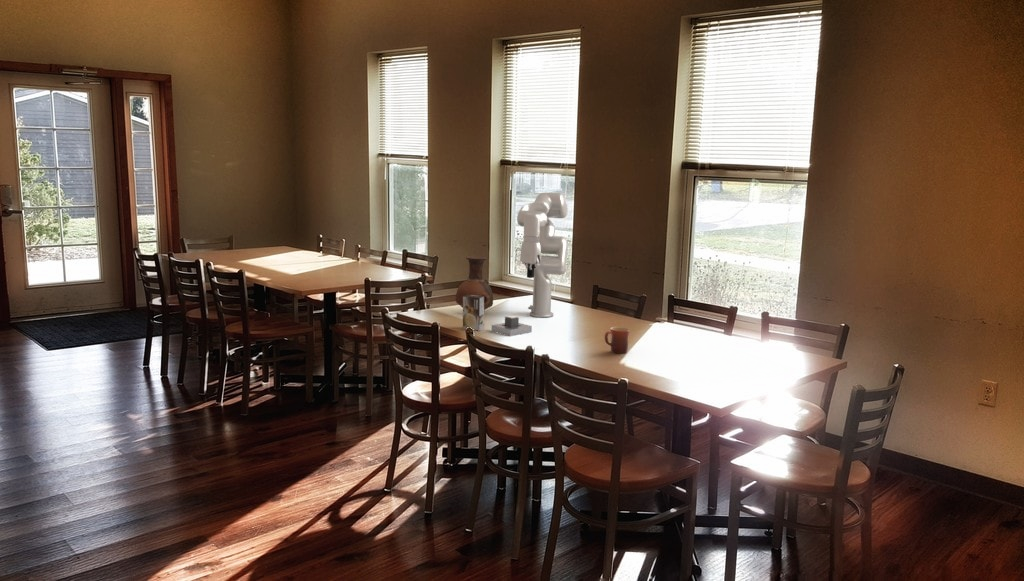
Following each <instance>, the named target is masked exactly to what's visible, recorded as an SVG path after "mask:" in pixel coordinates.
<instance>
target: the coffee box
mask: <svg viewBox="0 0 1024 581" xmlns="http://www.w3.org/2000/svg"><path fill="white" fill-rule="evenodd" d="M484 304H485V296H478V295H465V296H463V308H462V330H467V329H466V328H467V327H471V328H472V329H474V330H473V331H476V330H478V331H477V332H480V331H483V330H484V329H485V310H484Z"/></svg>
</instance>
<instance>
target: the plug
mask: <svg viewBox="0 0 1024 581" xmlns="http://www.w3.org/2000/svg"><path fill="white" fill-rule="evenodd" d="M519 319H520V318H519V317H518V316H516V315H507V316H505V317H504V323H505V326H506V327H510V328H513V327H518V324H519V323H520V322H519Z"/></svg>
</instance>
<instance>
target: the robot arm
mask: <svg viewBox="0 0 1024 581" xmlns="http://www.w3.org/2000/svg"><path fill="white" fill-rule="evenodd" d="M568 212H569V209H568V205H567V201H566V198H565V196H564V195H563V194H562V193H559V192H540V193H539V194H538V195H537V196H536V198H535V200H534V201H533V202H531V203H528V204H525V205H523V206H521V208H520V209H519V210H518V213H517V215H516V216H517V218H516V221H517V224H518V226H521V227H523V236H522V238H523V241H522V242H521V245H520V246H521V247H520V255H519V256H520V257H519V259H520V262H522V263H521V264H523V265H525V268H526V278H527V279H533V282H532V284H533V285H532V286H533V289H532V304H530V305H529V306H528V307H527V310H531V311H530V312H529V316H530V317H533V318H534V317H535V318H552V317H554V312H552V311H551V310H552V309H551V307H552V280H551V278H550V277H549V275H556V276H560V275H561V276H562V275H564V274H565V272H566V270H567V258H568V247H569V245H568V240H567V238H566V237H564V236H559V235H558V236H557V235H556V234H555V231H556V228H555V225H554V223H553V222H552V220H551V219H565V218H566V217H567V215H568ZM543 254H544V255H543ZM555 255H556V256H555Z"/></svg>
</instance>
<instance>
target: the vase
mask: <svg viewBox="0 0 1024 581" xmlns="http://www.w3.org/2000/svg"><path fill="white" fill-rule="evenodd" d="M465 259H467V260H468V264H469V267H468V268H469V274H468V278H467V279H466V280H464V281H462V283H461V284H460V285H459V286H458V288H457V289H456V294H455V303H456V304H458V306H460V307H461V308H462V309H463V296H465V295H478V296H485V304H484V311H486V310H488V309H490V308H491V307H492V306H493V304H494V294H493V292H492V291H493V290H492V288H491V286H490V283H489V281H488V280H487V279H484V278H483V266H484V262H485V261H486V260H488V259H487V257H486V256H485V257H484V256H469V255H468V256H466V257H465Z"/></svg>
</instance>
